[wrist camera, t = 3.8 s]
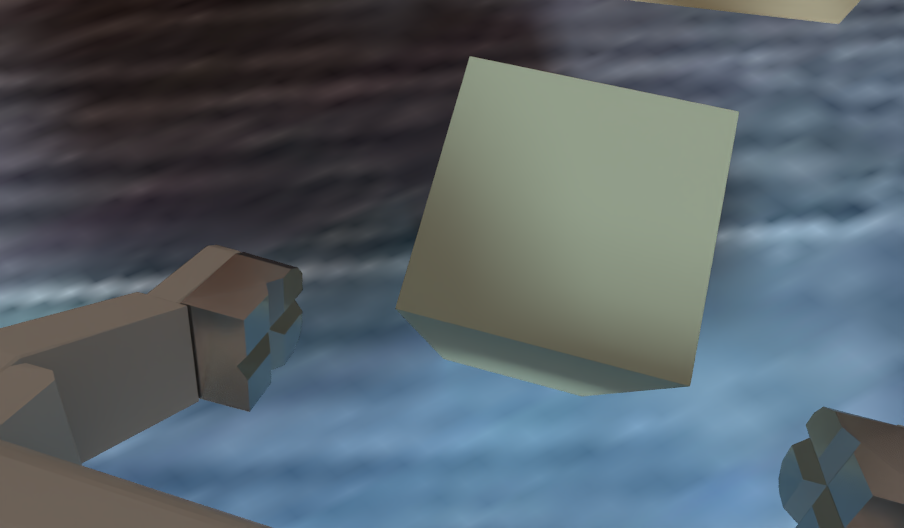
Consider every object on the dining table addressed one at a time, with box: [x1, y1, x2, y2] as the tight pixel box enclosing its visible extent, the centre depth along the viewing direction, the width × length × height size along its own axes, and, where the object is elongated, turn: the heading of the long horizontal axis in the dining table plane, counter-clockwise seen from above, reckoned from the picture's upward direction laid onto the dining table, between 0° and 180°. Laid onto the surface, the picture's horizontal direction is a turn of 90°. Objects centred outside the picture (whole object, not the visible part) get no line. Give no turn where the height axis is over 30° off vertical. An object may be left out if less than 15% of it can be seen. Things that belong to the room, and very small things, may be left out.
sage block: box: [395, 56, 739, 396], centre depth 13 cm, size 4×4×9 cm
